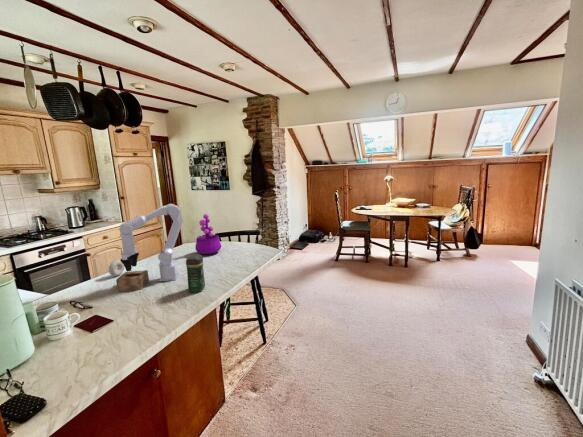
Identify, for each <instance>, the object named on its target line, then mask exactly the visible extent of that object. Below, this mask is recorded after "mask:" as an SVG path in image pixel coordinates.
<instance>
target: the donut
mask: <svg viewBox="0 0 583 437" xmlns="http://www.w3.org/2000/svg"><path fill="white" fill-rule="evenodd" d="M108 266H109V267H108V272H109V275H111V276H112V277H120V276H121V275H122V274H123V273H124V271H125V266H124V265H123V263H122V262H121V259H120V260H119V259H116V260H114V261H112V262H110V264H109V265H108ZM116 267H117V269H116Z"/></svg>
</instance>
